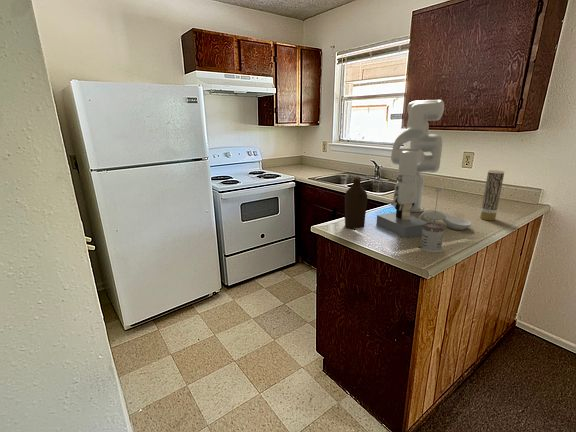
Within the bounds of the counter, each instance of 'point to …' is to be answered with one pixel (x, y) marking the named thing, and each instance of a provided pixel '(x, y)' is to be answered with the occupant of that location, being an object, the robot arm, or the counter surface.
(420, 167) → the robot arm
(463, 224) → the spoon rest
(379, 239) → the counter surface
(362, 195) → the olive oil
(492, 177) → the paper tube
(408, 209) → the plug
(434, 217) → the french press
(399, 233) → the socket block
